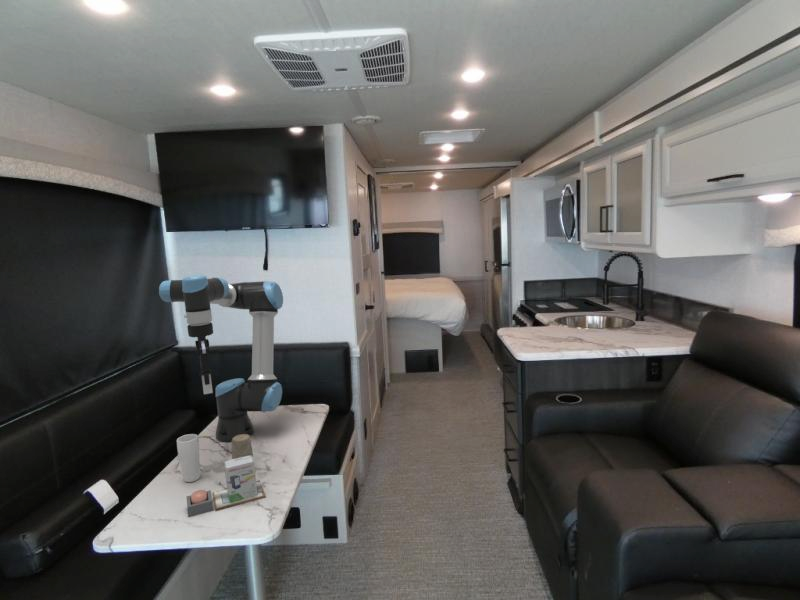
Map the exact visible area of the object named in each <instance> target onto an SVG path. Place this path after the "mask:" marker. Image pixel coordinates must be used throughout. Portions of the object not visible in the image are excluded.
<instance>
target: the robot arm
mask: <svg viewBox="0 0 800 600" xmlns="http://www.w3.org/2000/svg"><path fill="white" fill-rule="evenodd" d="M158 291H159V292H158V294H159V297H160V299H161V300H162V301H163V302H166V303H180V302H181V303H184V308H185V314H184V315H183V317H184V319H186V324H187V326H186V327H187V334H188V335H187V336H188V337H189V338H196V339H197V340H194V342H195V343H194V344H195V347H196V351H197V352H196V353H197V355H198V358H199V359H198V360H199V367H200V373H199V377H201V383H202V391H203V395H209V394H213V385H212V383H213V382H212V376H211V375H212V372H213V371H212V369H211V366H210V357H209V356H210V340H209V339H208V338H207V336H208V337H209V336H211V335H213V334H214V325H213V323H212V321H213V316H212V309H211V304H213V305H214V304H215V305H218V306H221V307H222V308H231V309H237V310H248V313H249V315H250V316H251V317H252V347H251V349H252V351H251V352H252V354H251V375H250V376H249V377H248V379H247V382H245V379H244V378H242V377H239V378H238V377H237V378H233V379H228V380H225V381H222V382H221V383H219V384H218V385H216V386H215V400H216V408H217V418H218V420H217V425H216V427H215V433H214V434H215V439H216V441H219V442H227V443H230V442H232V439H233V438H234V437H235V436H237V435H241V434H247V435H249V436H250V437H251V436H252V435H253V433H254V431H255V430H254V425H253V423H252V421H251V419H250V417H249V414H248V412H263V413H265V412H274V411H276V409H277V408H278V407H279V405H280V403H281V400H282V398H283V397H282V396H283V387H282V384H281V383H280V382H278V377H276V375H275V374H274V347H275V346H274V343H275V342H274V341H275V340H274V339H275V338H274V336H275V335H274V334H275V330H274V329H275V328H274V327H275V323H274V322H275V317H276V316H277V314H278V313H279V311H278V310H280V309H281V308H282V307H283V304H284V296H283V295H284V294H283V292H282V289H281V287H280V285H279V284H278V283H277V282H275V281H268V280H267V281H265V280H264V281H263V280H262V281H246V282H244V281H243V282H235V283H228V281H227V280H226V279H225V278H222V277H217V276H216V277H211V278H208V277H207V276H206V275H203V274H198V275H190V276H189V275H188V276H184V277H183V278H182V279H170V280H164V281H162V282H161V283H160V284H159V288H158Z"/></svg>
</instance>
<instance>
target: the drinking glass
mask: <svg viewBox="0 0 800 600" xmlns="http://www.w3.org/2000/svg"><path fill="white" fill-rule="evenodd" d="M176 449H177V455H178V458H179V463H180V468H181V472H182V479H183V481H184V483H193V482H195V481H197V480H199V478H201V471H200V464H201V463H200V441H199V437H198V434H195V433H189V434H184V435H182V436H180V437H178V438H177V439H176Z"/></svg>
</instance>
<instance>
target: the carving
mask: <svg viewBox="0 0 800 600" xmlns="http://www.w3.org/2000/svg"><path fill="white" fill-rule="evenodd" d="M230 446H231V447H230V448H231V449H230V450H231V460H232V459H237V458H241V457H245V456H252V457H253V458H254V453H253V447H252V439H251V435H250V436H249V435H247V434H241V435H237V436H235V437H234V438H233V439H232V441H231V444H230Z"/></svg>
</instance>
